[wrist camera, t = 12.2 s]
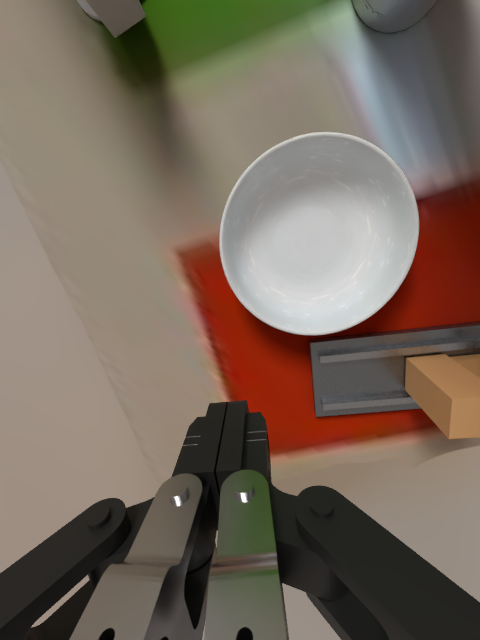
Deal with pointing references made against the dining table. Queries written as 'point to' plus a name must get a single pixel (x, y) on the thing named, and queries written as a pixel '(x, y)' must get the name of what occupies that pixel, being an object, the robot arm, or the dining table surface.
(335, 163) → the serving bowl
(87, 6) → the network device
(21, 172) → the dining table surface
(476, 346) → the rail
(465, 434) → the block
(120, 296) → the dining table surface
